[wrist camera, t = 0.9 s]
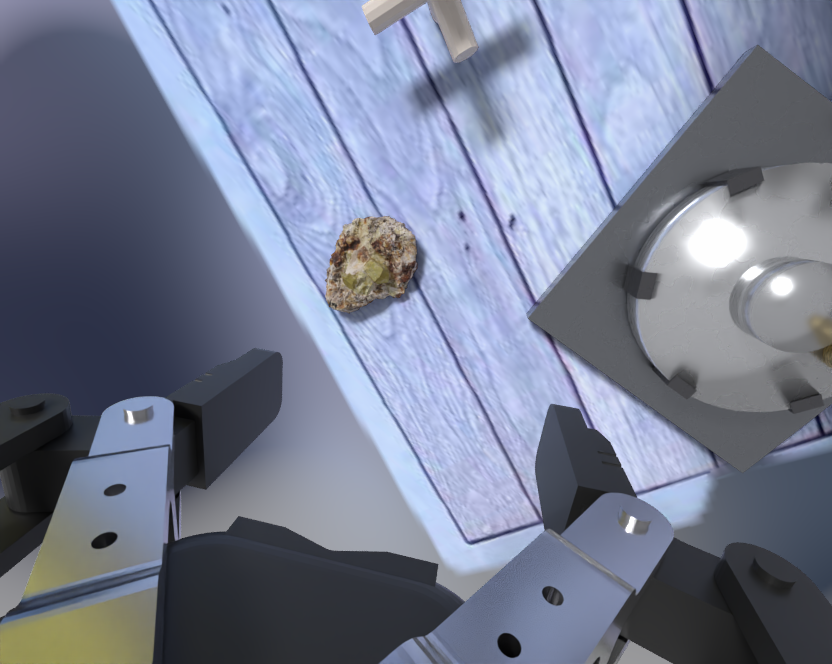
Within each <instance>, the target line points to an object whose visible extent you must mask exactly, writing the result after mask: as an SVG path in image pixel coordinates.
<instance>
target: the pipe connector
mask: <svg viewBox="0 0 832 664" xmlns="http://www.w3.org/2000/svg"><path fill="white" fill-rule="evenodd" d="M426 2H428V5H429V9H430V12H431V15H432V18H433V20H434V21H435V22H436V23H438V24H439V27H440V29H441V32H442V34H443V37H444V39H445V42H446V44H447V47H448V49H449V52H450V54H451V57H452V59H453V62H455V63H458V62H461V61H463V60H465V59H467V58H469V57H470V56H472V55H473V54H474V53H475V52H476V51H477V49H478V45H477V42H476V39H475V37H474V34H473V32H472V29H471V26H470V24H469V21H468V18H467V16H466V13H465V11H464V8H463V5H462V3H461V0H370V1H368V2H367V3H365V4H364V5H362V9H363V12H364V14H365V16H366V19H367V21H368V23H369V25H370V27H371V29H372V31H373V33H374V34H375V35H377V34H378V33H380V32H382V31H383V30H385V29H386V28H388V27H389V26H391V25H392V24H394V23H395V22H397V21H399V20H400V19H402V18H403V17H405V16H406V15H408V14H409V13H411V12H413V11H414V10H416V9H417V8H419V7H420V6H422V5H423V4H425V3H426Z"/></svg>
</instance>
